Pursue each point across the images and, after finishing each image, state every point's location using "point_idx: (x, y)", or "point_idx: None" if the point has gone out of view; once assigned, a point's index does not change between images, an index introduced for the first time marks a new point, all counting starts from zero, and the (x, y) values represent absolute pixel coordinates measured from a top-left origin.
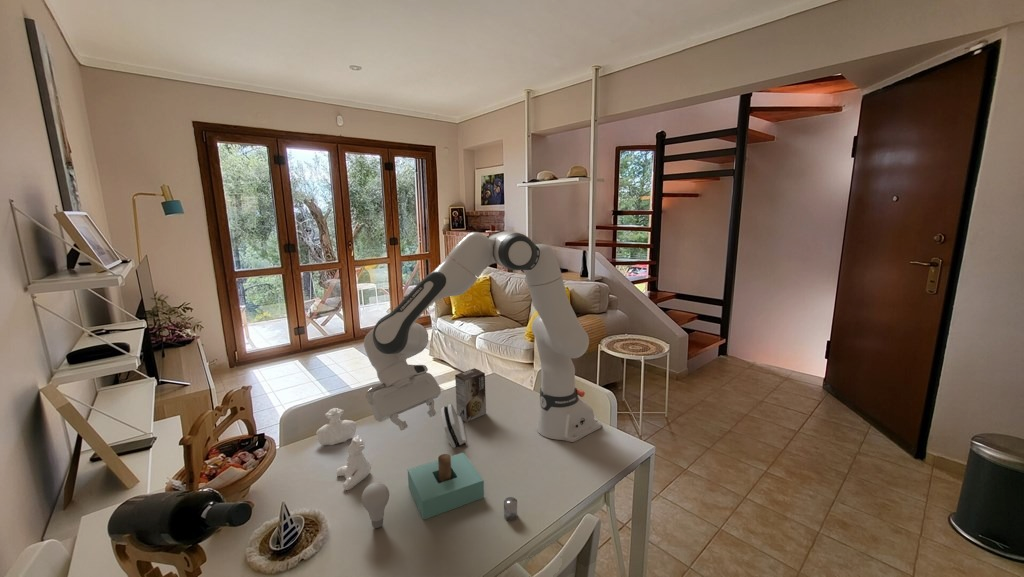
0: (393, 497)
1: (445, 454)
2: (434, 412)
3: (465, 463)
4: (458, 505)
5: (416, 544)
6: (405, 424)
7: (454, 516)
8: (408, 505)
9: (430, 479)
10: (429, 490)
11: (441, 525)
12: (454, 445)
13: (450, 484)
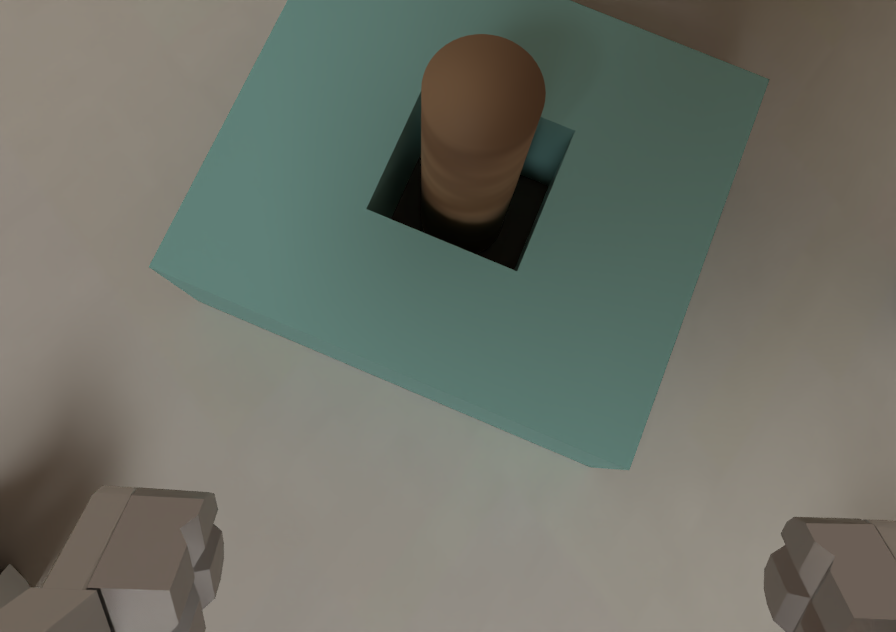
0: (727, 450)
1: (442, 118)
2: (125, 502)
3: (262, 142)
4: None
5: (834, 42)
6: (851, 552)
7: None
8: (701, 307)
9: (583, 213)
10: (668, 123)
11: (665, 36)
12: (7, 577)
13: None
